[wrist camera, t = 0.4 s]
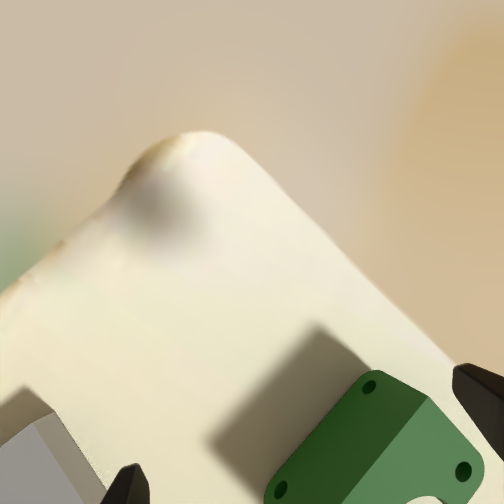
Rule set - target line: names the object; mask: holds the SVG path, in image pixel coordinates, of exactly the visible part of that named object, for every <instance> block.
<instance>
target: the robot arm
mask: <svg viewBox="0 0 504 504" xmlns="http://www.w3.org/2000/svg"><path fill="white" fill-rule="evenodd" d="M452 389H453V393H454V395H455V396H456V398H457V399H458V401H459V402H460V404H461V405H462V406H463V408H464V409H465V411H466V412H467V413H468V415H469V416H470V418H471V419H472V420H473V422H474V423H475V425H476V426H477V427H478V429H479V430H480V432H481V433H482V434H483V436H484V437H485V439H486V440H487V441H488V443H489V444H490V445H491V447H492V448H493V449H494V450H495V452H496V453H497V454H498V455H499V457H500V458H501V459H502V460H503V461H504V377H503V376H500V375H498V374H495V373H493V372H490V371H488V370H486V369H483V368H481V367H478V366H476V365H473V364H470V363H464V364H461V365H457V366H455V367H454V368H453V378H452ZM100 504H150V490H149V484H148V481H147V479H146V477H145V475H144V473H143V471H142V469H141V467H140V465H139V464H138V463H134V464H131V465H127V466H124V467H122V468H121V469H120V471H119V472H118V474H117V476H116V477H115V479H114V481H113V482H112V484H111V486H110V487H109V489H108V491H107V492H106V494H105V496H104V497H103V499H102V501H101V502H100Z"/></svg>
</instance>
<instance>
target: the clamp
mask: <svg viewBox="0 0 504 504" xmlns="http://www.w3.org/2000/svg"><path fill="white" fill-rule="evenodd" d="M483 477H484V462H483V459H482V456H481V455H480V453H479V452H478V451H477V450H476V449H475V448H474V446H473V445H472V444H471V443H470V442H469V441H468V440H467V439H466V438H465V436H464V435H463V434H462V433H461V432H460V431H459V430H458V429H457V427H456V426H455V425H454V424H453V423H452V422H451V421H450V420H449V419H448V417H447V416H446V415H445V414H444V413H443V412H442V411H441V410H440V409H439V407H438V406H437V405H436V404H435V403H434V402H433V401H432V400H431V398H430V397H429V396H427V395H425V394H423V393H422V392H420V391H418V390H416V389H414V388H412V387H410V386H409V385H407V384H405V383H403V382H401V381H399V380H398V379H396V378H394V377H392V376H390V375H388V374H386V373H385V372H383V371H380V370H373V371H369V372H367V373H365V374H364V375H362V376H361V377H360V378H359V379H358V380H357V381H356V382H355V384H354V385H353V386H352V387H351V388H350V389H349V391H348V392H347V393H346V394H345V395H344V396H343V397H342V399H341V400H340V401H339V402H338V403H337V404H336V405H335V407H334V408H333V409H332V410H331V411H330V412H329V413H328V415H327V416H326V417H325V418H324V419H323V420H322V421H321V423H320V424H319V425H318V426H317V427H316V428H315V430H314V431H313V432H312V433H311V434H310V435H309V436H308V438H307V439H306V440H305V441H304V442H303V443H302V444H301V446H300V447H299V448H298V449H297V450H296V451H295V452H294V454H293V455H292V456H291V457H290V458H289V459H288V460H287V462H286V463H285V464H284V465H283V466H282V467H281V469H280V470H279V471H278V472H277V473H276V474H275V475H274V477H273V478H272V479H271V481H270V482H269V484H268V486H267V489H266V492H265V495H264V504H406V503H407V502H409V501H411V500H413V499H415V498H418V497H421V496H434V497H436V498H437V499H438V500H440V501H441V502H442V503H443V504H467V503H468V502H469V500H470V499H471V497H472V496H473V495H474V493H475V492H476V491H477V489H478V488H479V486H480V485H481V483H482V480H483Z"/></svg>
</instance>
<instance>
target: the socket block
mask: <svg viewBox="0 0 504 504" xmlns="http://www.w3.org/2000/svg"><path fill="white" fill-rule="evenodd" d="M106 492H107V490H106V489H105V487H104V486H103V484H102V483H101V481H100V480H99V478H98V477H97V475H96V474H95V472H94V471H93V469H92V467H91V466H90V464H89V463H88V461H87V460H86V458H85V457H84V455H83V454H82V452H81V451H80V449H79V448H78V446H77V445H76V443H75V442H74V440H73V438H72V437H71V435H70V434H69V432H68V431H67V429H66V428H65V426H64V425H63V423H62V422H61V420H60V419H59V417H58V416H57V414H56V413H55V411H54V412H52V413H50V414H48V415H46V416H44V417H42V418H40V419H38V420H36V421H34V422H32V423H30V424H29V425H28V426H27V427H25V428H24V429H23V430H21V431H20V432H19V433H18V434H16V435H15V436H14V437H12V438H11V439H10V440H9V441H7V442H6V443H5V444H3V445H2V446H1V447H0V504H100V502H101V501H102V499H103V497H104V496H105V494H106Z"/></svg>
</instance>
